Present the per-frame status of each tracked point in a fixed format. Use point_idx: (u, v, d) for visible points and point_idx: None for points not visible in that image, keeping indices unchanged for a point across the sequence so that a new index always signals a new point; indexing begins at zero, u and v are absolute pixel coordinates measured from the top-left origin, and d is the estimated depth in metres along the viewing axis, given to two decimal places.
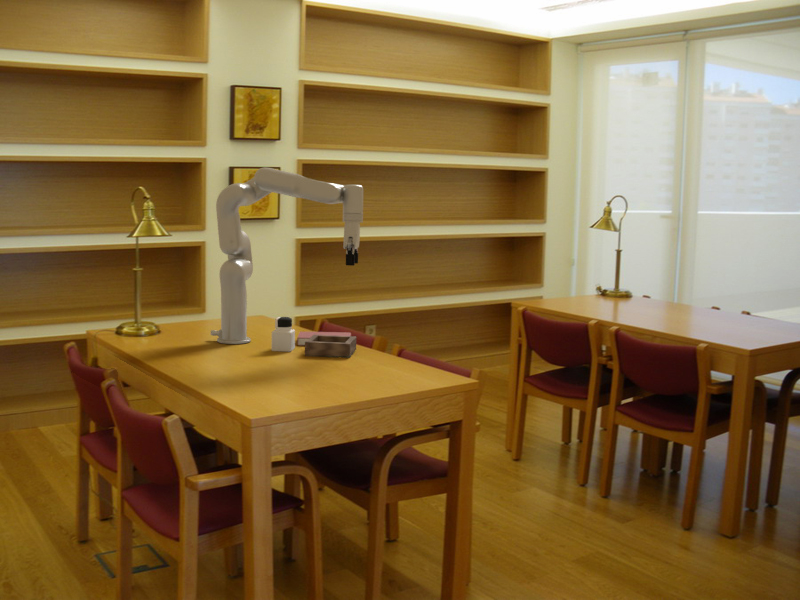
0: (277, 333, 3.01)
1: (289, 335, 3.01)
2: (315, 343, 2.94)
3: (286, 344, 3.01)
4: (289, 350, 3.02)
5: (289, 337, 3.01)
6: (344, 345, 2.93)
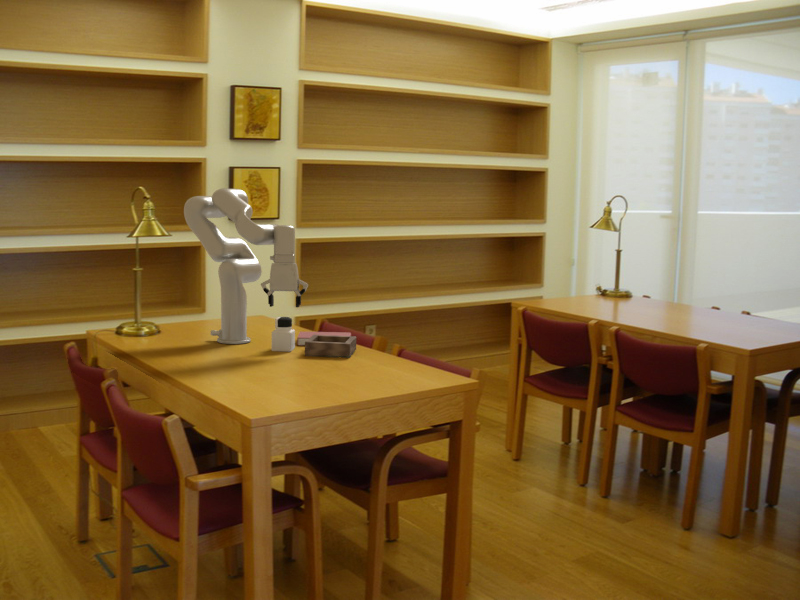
0: (277, 333, 3.01)
1: (289, 335, 3.01)
2: (315, 343, 2.94)
3: (286, 344, 3.01)
4: (289, 350, 3.02)
5: (289, 337, 3.01)
6: (344, 345, 2.93)
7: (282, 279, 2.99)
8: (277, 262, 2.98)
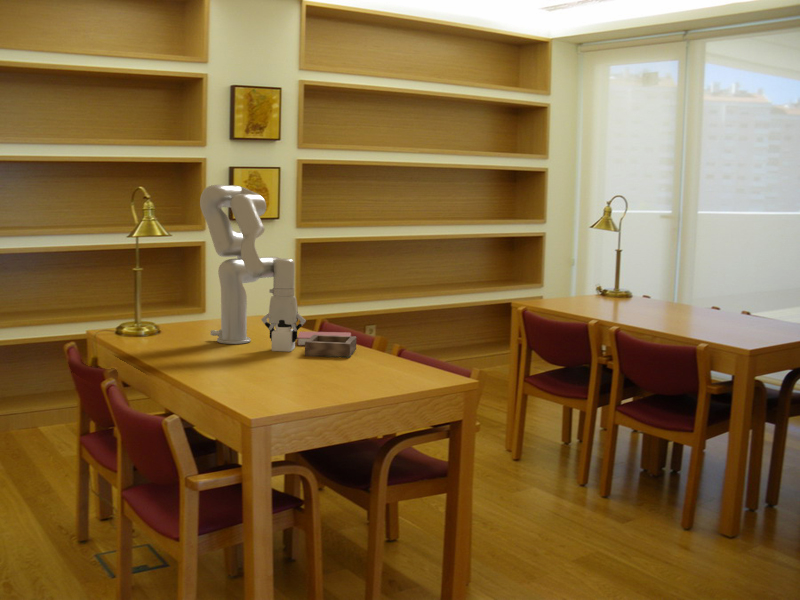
0: (277, 333, 3.01)
1: (289, 335, 3.01)
2: (315, 343, 2.94)
3: (286, 344, 3.01)
4: (289, 350, 3.02)
5: (289, 337, 3.01)
6: (344, 345, 2.93)
7: (281, 312, 3.01)
8: (276, 296, 3.00)
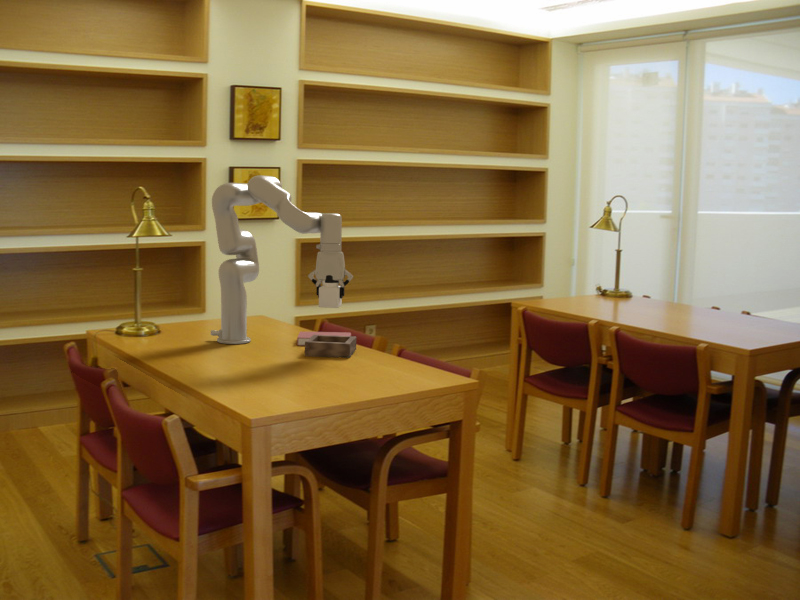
0: (324, 289, 2.96)
1: (337, 291, 2.95)
2: (315, 343, 2.94)
3: (333, 300, 2.96)
4: (337, 306, 2.96)
5: (337, 293, 2.95)
6: (344, 345, 2.93)
7: (328, 268, 2.95)
8: (324, 251, 2.94)
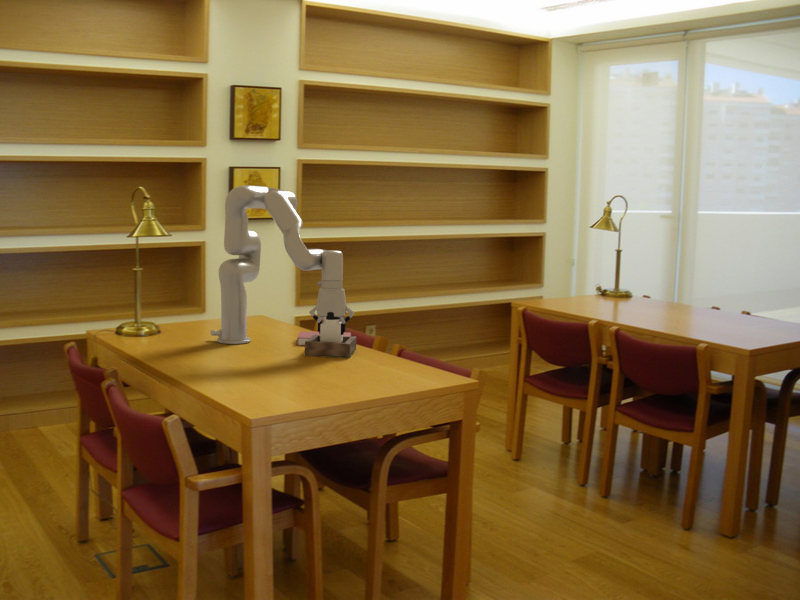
0: (326, 326, 2.97)
1: (338, 327, 2.97)
2: (315, 343, 2.94)
3: (335, 337, 2.97)
4: None
5: (338, 330, 2.97)
6: (344, 345, 2.93)
7: (330, 305, 2.97)
8: (325, 288, 2.96)
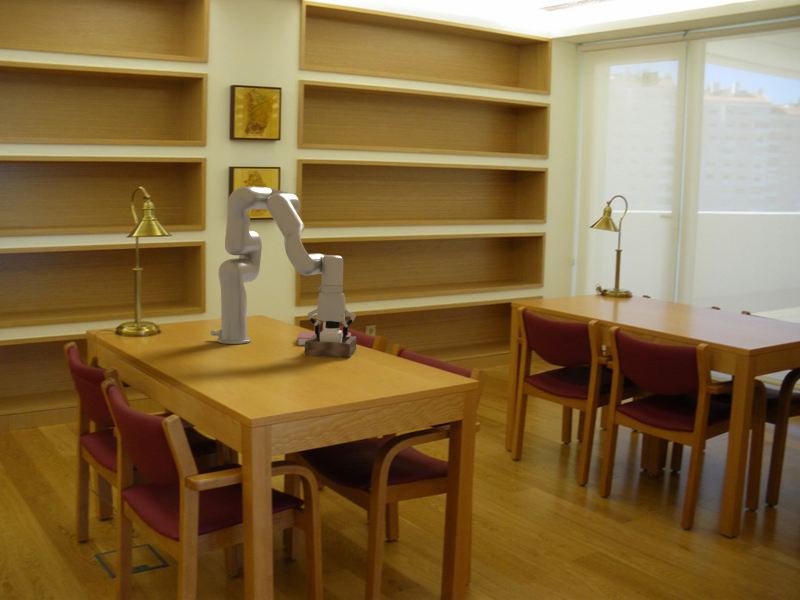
0: (325, 334, 2.98)
1: (337, 336, 2.97)
2: (315, 343, 2.94)
3: None
4: None
5: (337, 338, 2.97)
6: (344, 345, 2.93)
7: (329, 310, 2.97)
8: (325, 293, 2.96)
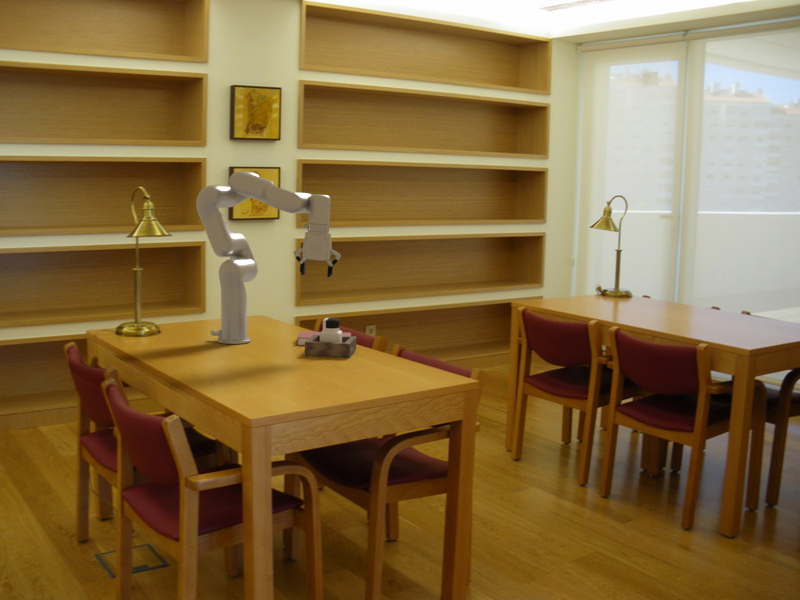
0: (325, 334, 2.98)
1: (338, 336, 2.97)
2: (315, 343, 2.94)
3: None
4: None
5: (337, 338, 2.97)
6: (344, 345, 2.93)
7: (315, 248, 3.00)
8: (311, 231, 2.99)
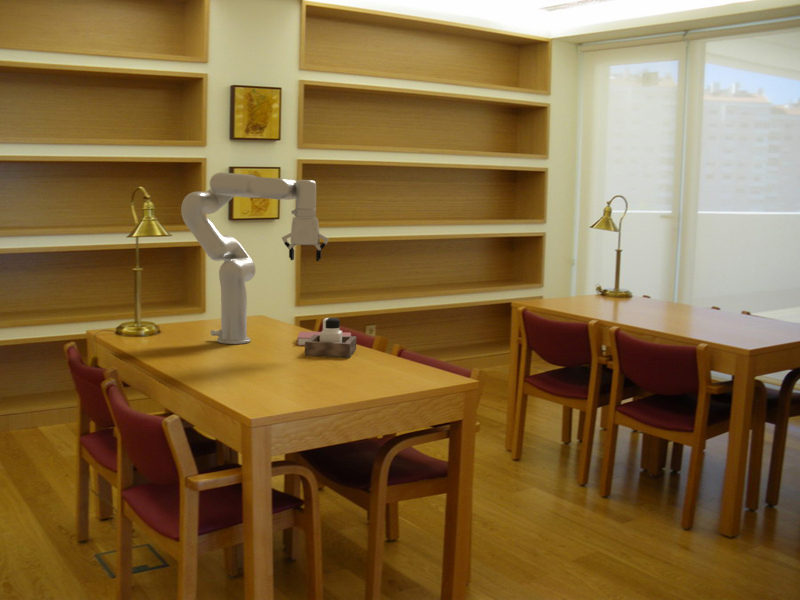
0: (325, 334, 2.98)
1: (338, 336, 2.97)
2: (315, 343, 2.94)
3: None
4: None
5: (337, 338, 2.97)
6: (344, 345, 2.93)
7: (303, 233, 3.05)
8: (298, 216, 3.04)
